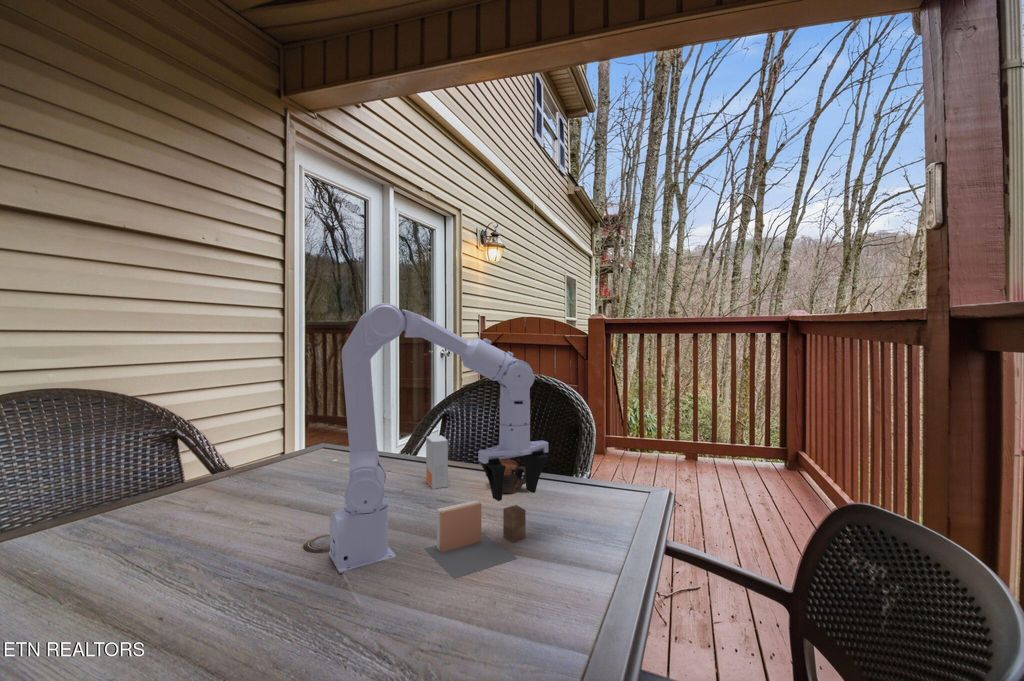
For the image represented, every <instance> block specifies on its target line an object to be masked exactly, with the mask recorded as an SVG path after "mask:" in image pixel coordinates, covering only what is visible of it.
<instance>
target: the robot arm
mask: <svg viewBox="0 0 1024 681" xmlns="http://www.w3.org/2000/svg"><path fill="white" fill-rule="evenodd" d="M403 332H404V336H403V337H404V338H422V339H424V340H427V341H429V342H431V343H433V344H435V345H437V346H438V347H439V346H440V347H441V348H443V349H445V350H447V351H450V352H451V353H454V354H456V355H458V356H460V358H461V362H462V365H463V367H465V368H467V369H469V370H471V371H474V372H475V373H477V374H479V375H481V376H483V377H485V378H487V379H489V380H491V381H493V382H495V381H497V382H498V384H499V385H500V390H499V392H500V393H499V394H500V396H499V438H498V439H499V444H497V445H494V446H492V447H489V448H485V449H482V450H478V451H477V452H478V457H477V458H478V460H477V461H478V462H480V465H481V467H482V469H483V471H484V473H485V476H486V475H487V476H486V478H487V480H488V483H489V486H490V487H489V488H490V490H491V495H492V499H493V500H496V501H497V502H500V501H503V500H502V499H503V493H502V487H503V477H504V472H505V468H506V466H504V465H502V464H501V462H499V460H507V459H511V458H517V457H522V458H523V461H524V467H525V470H526V483H525V490H526V491H528V492H530V493H531V494H534V493H535V494H536V491H537V486H538V483H539V478H540V476H541V474H542V471H543V468H544V467H545V466H546V464H547V462H548V456H549V455H548V454H547V453H549V442H548V441H545V440H535V441H531V398H530V396H531V393H530V392H531V387H533V384H534V382H535V378H536V376H535V374H534V371H533V369H532V367H531V365H530V364H529V363H528V362H526V361H525V360H522V359H517V357H513V356H514V353H513V352H512V351H509V350H507V352H506V351H504V350H502V349H500V348H498V347H496V346H494V345H492V340H490V339H488V338H483V340H482V339H481V338H474V339H471V340H467V339H465V338H463V337H462V336H460V335H458V334H455V333H454V332H453V331H451V330H449V329H447V328H445V327H443V326H441V325H440V324H438V323H436V322H435V321H433V320H430V319H429V318H427V317H426V316H424V315H420V314H418V313H416V312H412V311H410V310H406V309H403V308H402V310H400V309H399V307H397V306H396V305H394V304H392V303H386V302H382V303H378V304H376V305H374V306H373V307H371V308H369V310H366V312H365V313H363V314H362V315H361V316H360V318H359V319H358V320H357V323H356V324H355V326H354V328H353V330H352V331H351V333H350V335H349V336H348V338H347V339H346V342H345V343H344V345H343V346H342V348H341V362H342V363H341V364H342V376H343V378H342V379H343V388H344V398H345V399H344V400H345V409H346V410H345V412H346V414H345V415H346V424H347V436H348V438H347V439H348V450H349V464H348V466H349V467H348V472H349V473H348V475H349V479H348V483H347V484H346V488H345V489H344V490H345V491H344V499H345V502H344V506H343V507H342V508H341V509H339V510H335V511H333V512H331V514H330V516H329V552H328V556H329V558H330V559H331V560H332V562H333V564H334V566H335V568H336V570H337V571H338V573H339V574H344V573H345V572H344V571H348V570H351V569H354V568H355V569H356V568H359V567H362V566H367V565H370V564H372V563H373V564H374V563H377V562H381V561H385V560H389V559H392V558H395V557H396V556H397V555H396V554H395V552H394V551H393V550H392V549H391V548H390V546H389V500H388V498H387V497H386V496H385V492H386V491H385V483H386V479H387V478H386V477H387V474H386V471H385V469H384V467H383V465H382V463H381V462H380V456H379V450H378V441H377V440H378V439H377V426H376V425H377V424H376V417H375V416H376V414H375V413H376V412H375V403H374V402H375V401H374V392H373V391H374V389H373V376H372V365H371V364H372V363H371V360H372V358H373V357H374V355H375V354H376V353H377V352H379V351H380V350H381V348H382V347H383V346H384V345H386V344H389V343H391V342H392V341H393V340H395V339H397V338H398V337H399V336H400V335H401V334H402V333H403Z"/></svg>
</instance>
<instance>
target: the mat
mask: <svg viewBox="0 0 1024 681" xmlns="http://www.w3.org/2000/svg"><path fill="white" fill-rule="evenodd" d="M424 550H425V552H426V553H427V554H429V555H430V557H431V558H432V559H433V560H434V561H435V562H436V563H438V564H439V566H441V567H442V569H444V570H445V571H446V572H447V573H448V574H449V575H450V577H451V578H453V579H454V580H455V579H458V578H461V577H465V576H468V575H471V574H475V573H477V572H481V571H484V570H487V569H490V568H493V567H497V566H500V565H502V564H506V563H508V562H511V561H515V560H517V559H518V557H517V556H515V555H514V554H512V552H510V551H508V549H506V548H504V547H503V546H502V545H500V544H499V543H497V542H496V541H494V540H493V539H492V538H490V536H487V535H486V534H485V533H483V532H481V541H480V542H477V543H473V544H470V545H466V546H463V547H459V548H456V549H452V550H448V551H445V552H441V551H439V550H438V549H437V544H436V545H433V546H430V547H429V546H428V547H426V548H424Z"/></svg>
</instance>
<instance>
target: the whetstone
mask: <svg viewBox="0 0 1024 681" xmlns="http://www.w3.org/2000/svg"><path fill="white" fill-rule="evenodd" d="M481 533H482V503H481V502H480V501H479V500H477V499H476V500H471V501H466V502H463V503H458V504H455V505H449V506H445V507H440V508H437V509H436V545H437V549H438V550H439V551H441V552H445V551H448V550H452V549H456V548H459V547H463V546H466V545H470V544H473V543H477V542H480V541H481Z"/></svg>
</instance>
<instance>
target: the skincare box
mask: <svg viewBox="0 0 1024 681" xmlns="http://www.w3.org/2000/svg"><path fill="white" fill-rule="evenodd" d="M448 441H449V440H448V439H447V438H446V437H445V436H443V435H441V434H440V435H430V436H426V438H425V448H426V449H425V450H426V451H425V452H426V454H425V455H426V456H425V457H426V458H425V460H426V462H425V463H426V464H425V466H426V467H425V468H426V469H425V470H426V471H425V473H426V475H425V476H426V480H425V481H426V483H427V484H428V485H429V486H430V488H431V490H435V488H437V489H442V487H444V488H448V486H449V454H448V453H449V445H448V444H449V442H448Z"/></svg>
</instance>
